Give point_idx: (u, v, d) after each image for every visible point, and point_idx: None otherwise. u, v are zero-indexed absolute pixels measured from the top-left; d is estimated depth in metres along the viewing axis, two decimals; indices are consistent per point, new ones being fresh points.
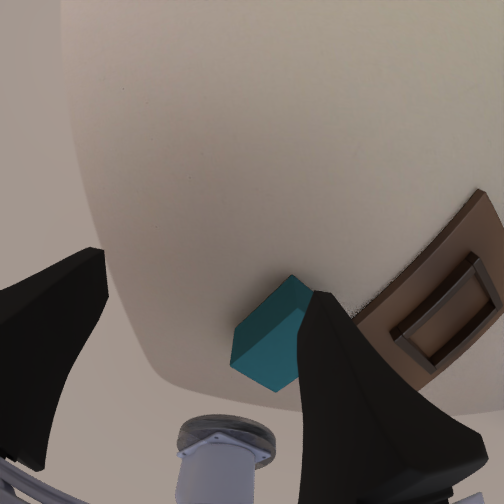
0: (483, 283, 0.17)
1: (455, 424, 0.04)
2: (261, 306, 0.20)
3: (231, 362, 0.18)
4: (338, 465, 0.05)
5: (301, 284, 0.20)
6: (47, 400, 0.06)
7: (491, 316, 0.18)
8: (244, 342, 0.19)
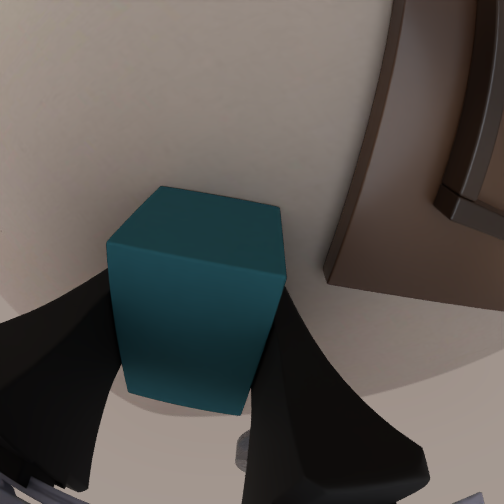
0: None
1: (392, 433, 0.04)
2: None
3: None
4: (265, 464, 0.05)
5: (180, 193, 0.09)
6: (92, 419, 0.06)
7: None
8: None
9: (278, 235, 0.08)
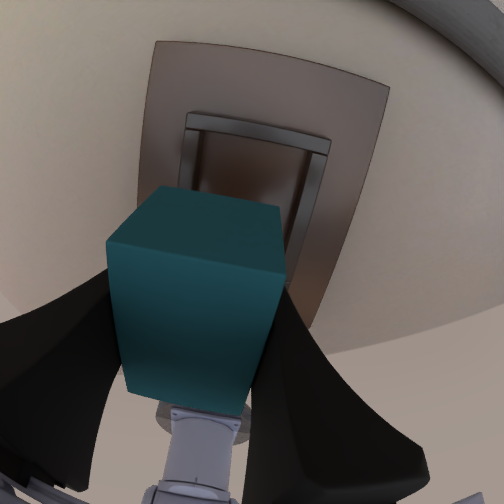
0: (236, 135, 0.13)
1: (392, 433, 0.04)
2: None
3: None
4: (265, 464, 0.05)
5: (180, 192, 0.09)
6: (92, 419, 0.06)
7: (316, 168, 0.14)
8: None
9: (278, 234, 0.08)
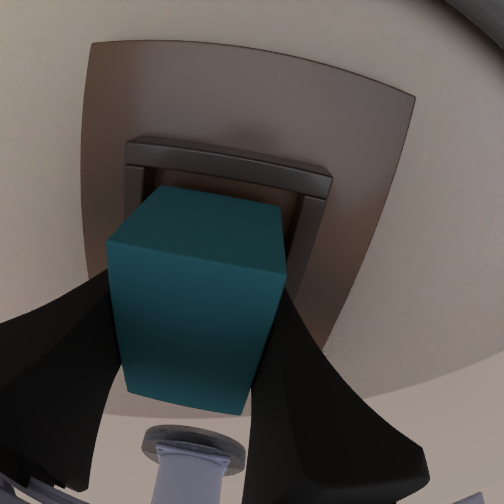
0: (194, 171, 0.09)
1: (392, 433, 0.04)
2: None
3: None
4: (265, 464, 0.05)
5: (180, 192, 0.09)
6: (92, 419, 0.06)
7: (310, 218, 0.10)
8: None
9: (278, 234, 0.08)
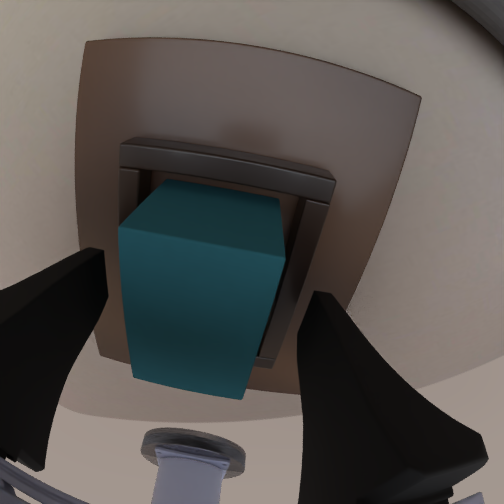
0: (191, 174, 0.09)
1: (455, 424, 0.04)
2: None
3: None
4: (338, 465, 0.05)
5: (185, 185, 0.10)
6: (47, 400, 0.06)
7: (312, 222, 0.09)
8: None
9: (278, 223, 0.08)
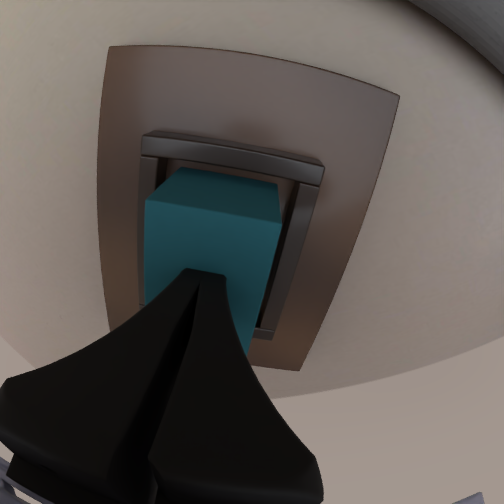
0: (203, 162, 0.10)
1: (282, 434, 0.04)
2: None
3: None
4: None
5: (197, 171, 0.11)
6: None
7: (305, 202, 0.11)
8: None
9: (276, 200, 0.10)
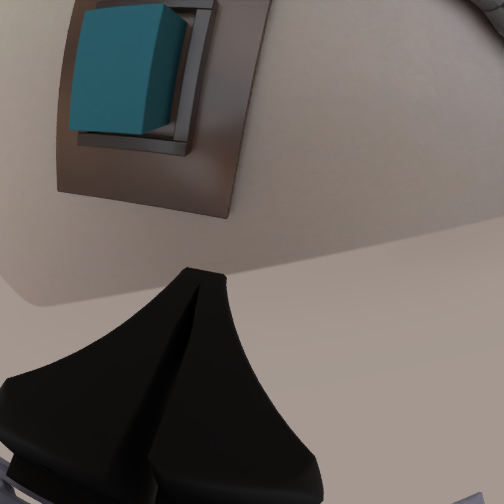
0: None
1: (282, 434, 0.04)
2: None
3: None
4: None
5: None
6: None
7: (201, 20, 0.11)
8: None
9: (173, 12, 0.10)
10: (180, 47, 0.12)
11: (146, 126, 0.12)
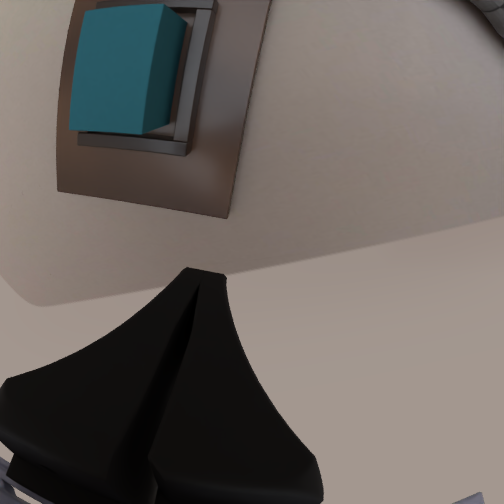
0: None
1: (282, 434, 0.04)
2: None
3: None
4: None
5: None
6: None
7: (201, 20, 0.11)
8: None
9: (173, 12, 0.10)
10: (180, 47, 0.12)
11: (146, 126, 0.12)
